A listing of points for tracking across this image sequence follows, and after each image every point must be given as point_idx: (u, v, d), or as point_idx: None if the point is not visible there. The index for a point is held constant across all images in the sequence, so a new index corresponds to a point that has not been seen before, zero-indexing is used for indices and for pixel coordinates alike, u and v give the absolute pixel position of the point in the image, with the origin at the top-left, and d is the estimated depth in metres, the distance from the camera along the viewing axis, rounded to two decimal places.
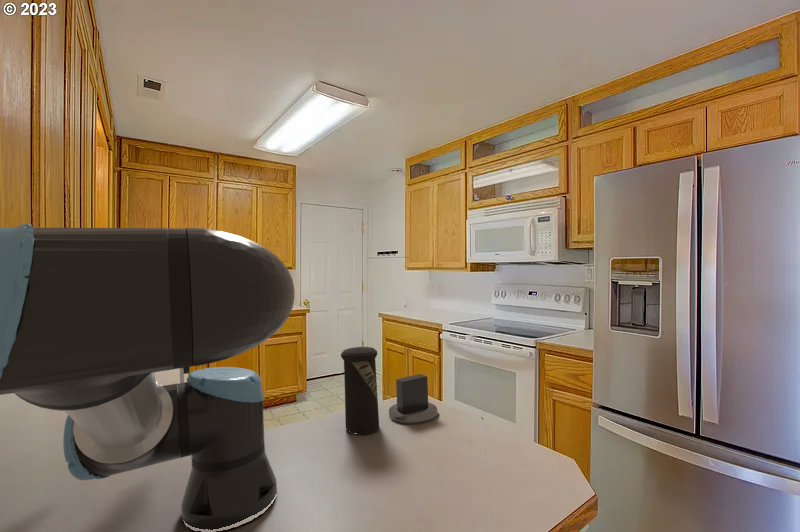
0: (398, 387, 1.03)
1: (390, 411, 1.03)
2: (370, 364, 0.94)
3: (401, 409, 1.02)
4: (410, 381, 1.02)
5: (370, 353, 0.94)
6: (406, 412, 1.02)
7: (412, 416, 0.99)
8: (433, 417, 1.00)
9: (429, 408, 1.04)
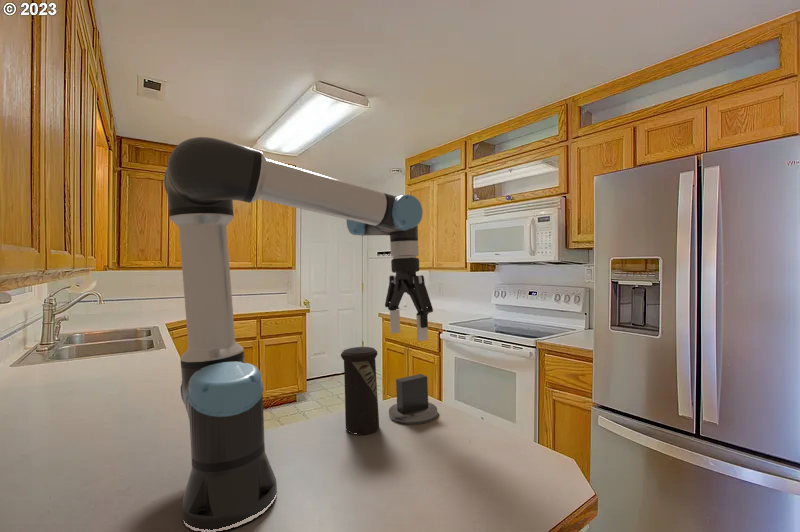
0: (398, 387, 1.03)
1: (390, 411, 1.03)
2: (370, 364, 0.94)
3: (401, 409, 1.02)
4: (410, 381, 1.02)
5: (370, 353, 0.94)
6: (406, 412, 1.02)
7: (412, 416, 0.99)
8: (433, 417, 1.00)
9: (429, 408, 1.04)
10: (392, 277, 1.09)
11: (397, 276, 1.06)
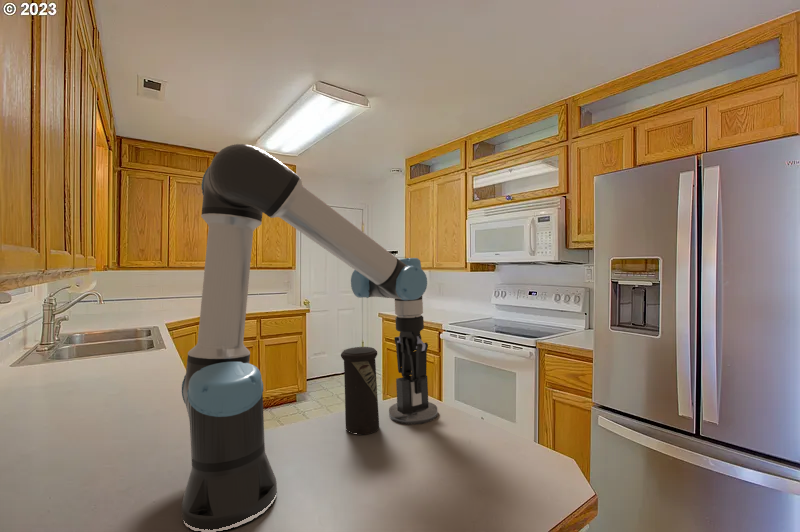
0: (398, 387, 1.03)
1: (390, 410, 1.04)
2: (370, 364, 0.94)
3: (401, 408, 1.02)
4: None
5: (370, 353, 0.94)
6: (406, 411, 1.02)
7: (413, 416, 0.99)
8: (433, 416, 1.00)
9: (429, 408, 1.04)
10: (397, 338, 1.09)
11: (400, 332, 1.06)
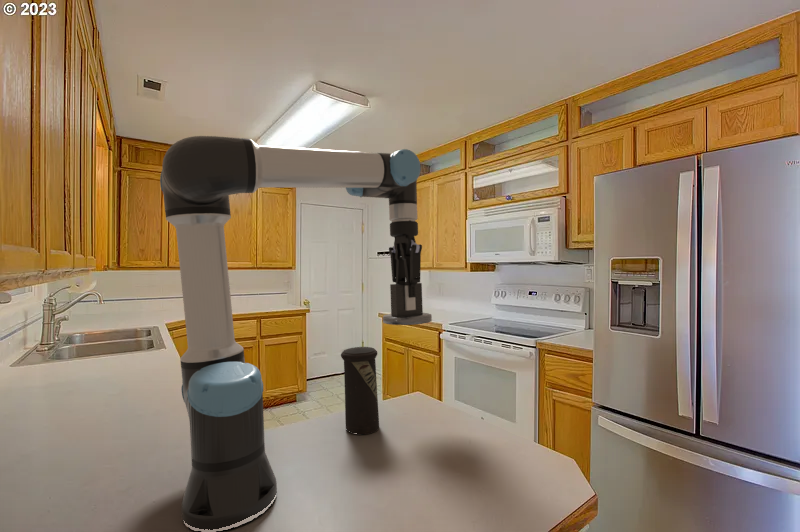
0: (392, 292, 1.02)
1: (384, 316, 1.03)
2: (370, 364, 0.94)
3: (395, 313, 1.01)
4: (404, 285, 1.02)
5: (370, 353, 0.94)
6: (400, 316, 1.01)
7: (406, 318, 0.99)
8: (427, 320, 1.00)
9: (423, 314, 1.04)
10: (391, 248, 1.08)
11: (395, 240, 1.06)
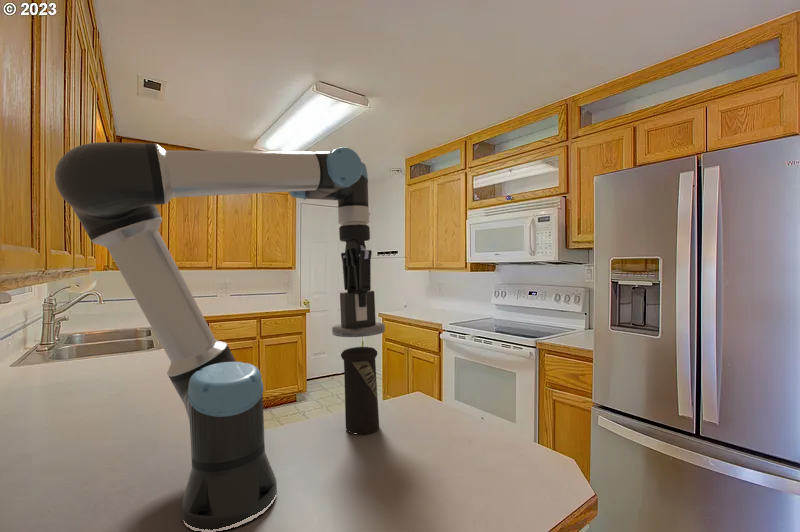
0: (341, 301, 0.95)
1: (333, 327, 0.96)
2: (370, 364, 0.94)
3: (344, 323, 0.94)
4: (354, 294, 0.95)
5: (370, 353, 0.94)
6: (349, 326, 0.94)
7: (355, 329, 0.92)
8: (378, 331, 0.93)
9: (376, 325, 0.97)
10: (343, 253, 1.01)
11: (346, 245, 0.99)
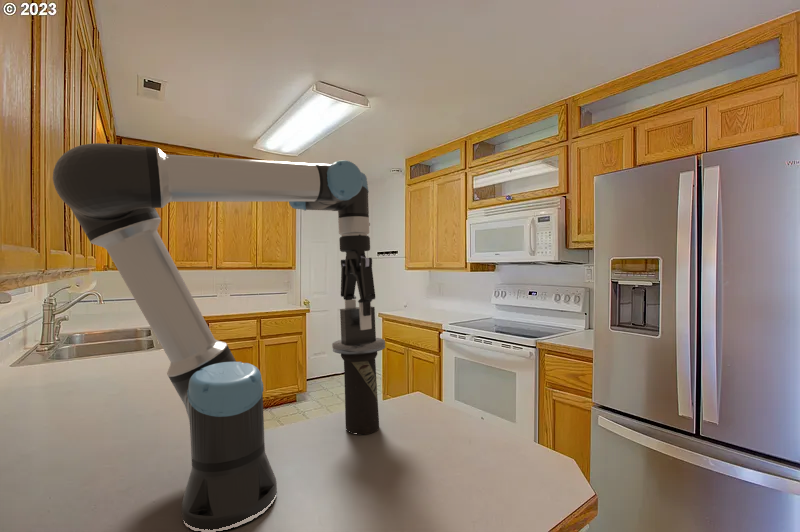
0: (342, 317, 0.95)
1: (334, 343, 0.96)
2: (370, 364, 0.94)
3: (344, 340, 0.94)
4: (354, 310, 0.95)
5: (370, 353, 0.94)
6: (350, 343, 0.94)
7: (355, 346, 0.92)
8: (378, 348, 0.93)
9: (376, 341, 0.97)
10: (343, 260, 1.01)
11: (346, 255, 0.98)
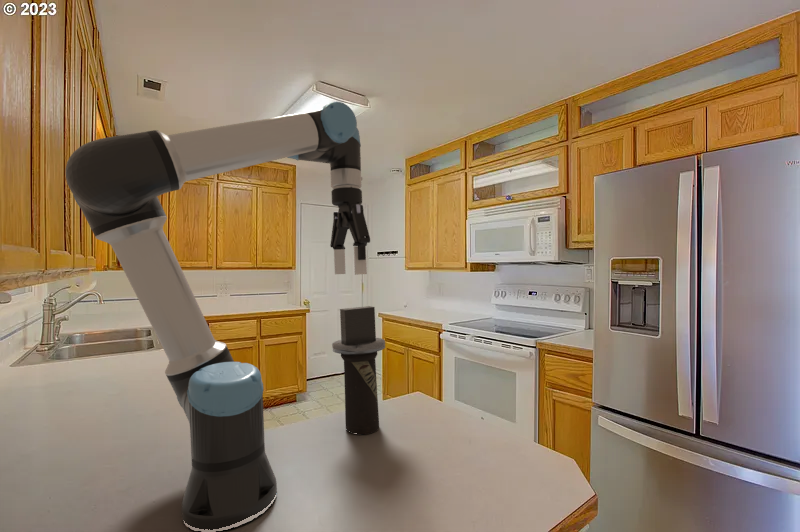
0: (342, 317, 0.95)
1: (333, 343, 0.96)
2: (370, 364, 0.94)
3: (344, 340, 0.94)
4: (354, 310, 0.95)
5: (370, 353, 0.94)
6: (350, 343, 0.94)
7: (355, 346, 0.92)
8: (378, 348, 0.93)
9: (376, 341, 0.97)
10: (336, 213, 1.01)
11: (339, 210, 0.99)
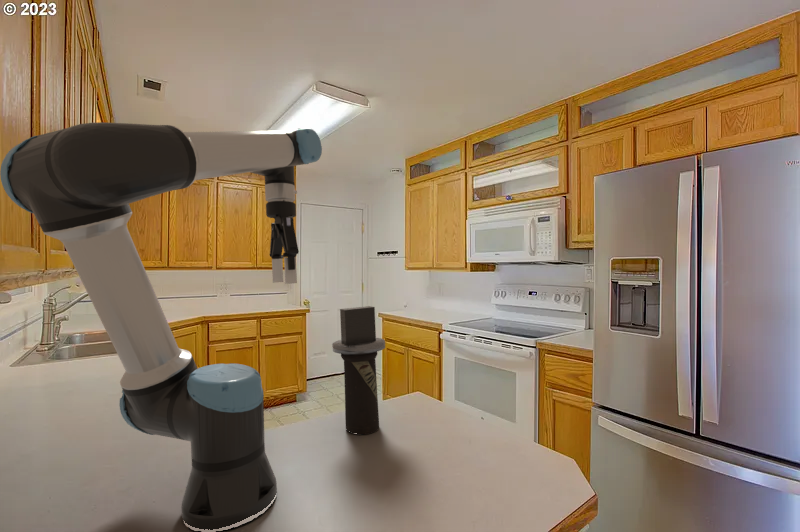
0: (342, 317, 0.95)
1: (334, 343, 0.96)
2: (370, 364, 0.94)
3: (344, 340, 0.94)
4: (355, 310, 0.95)
5: (370, 353, 0.94)
6: (350, 343, 0.94)
7: (355, 346, 0.92)
8: (378, 348, 0.93)
9: (376, 341, 0.97)
10: (273, 224, 1.07)
11: (275, 222, 1.04)
